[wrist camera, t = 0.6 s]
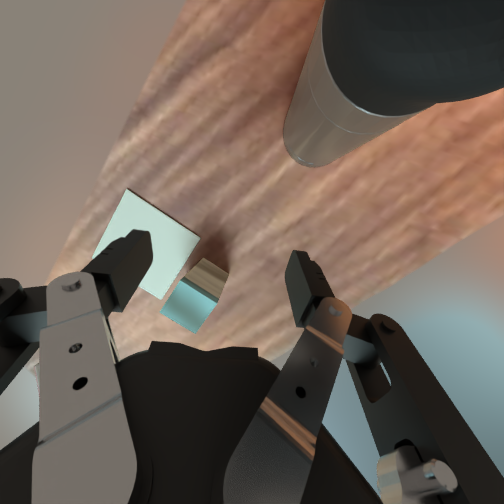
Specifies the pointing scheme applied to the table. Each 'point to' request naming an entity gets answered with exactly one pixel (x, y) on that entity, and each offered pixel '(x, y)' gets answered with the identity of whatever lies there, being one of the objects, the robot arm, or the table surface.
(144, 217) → the mat
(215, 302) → the ash block
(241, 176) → the table surface
